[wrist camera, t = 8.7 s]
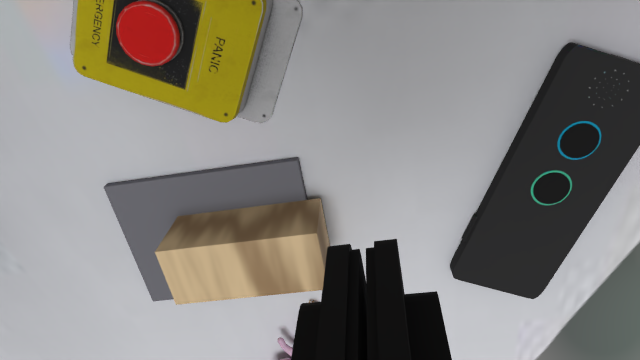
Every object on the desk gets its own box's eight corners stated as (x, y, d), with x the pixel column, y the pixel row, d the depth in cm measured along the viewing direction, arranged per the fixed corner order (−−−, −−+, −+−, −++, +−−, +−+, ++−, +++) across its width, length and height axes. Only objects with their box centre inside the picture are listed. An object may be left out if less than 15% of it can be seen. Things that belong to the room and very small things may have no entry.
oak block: (316, 233, 31) (154, 252, 33) (328, 289, 34) (176, 304, 35) (320, 198, 36) (177, 216, 37) (330, 249, 38) (195, 264, 39)
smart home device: (687, 79, 30) (539, 302, 39) (670, 72, 31) (531, 288, 40) (571, 42, 29) (448, 278, 38) (560, 38, 31) (444, 265, 39)
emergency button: (44, -87, 25) (301, 7, 26) (85, -82, 29) (307, 1, 30) (36, 71, 29) (259, 146, 31) (73, 57, 33) (269, 124, 34)
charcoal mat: (298, 157, 35) (297, 160, 34) (324, 279, 40) (323, 283, 40) (107, 183, 37) (103, 187, 36) (155, 296, 42) (153, 301, 42)
